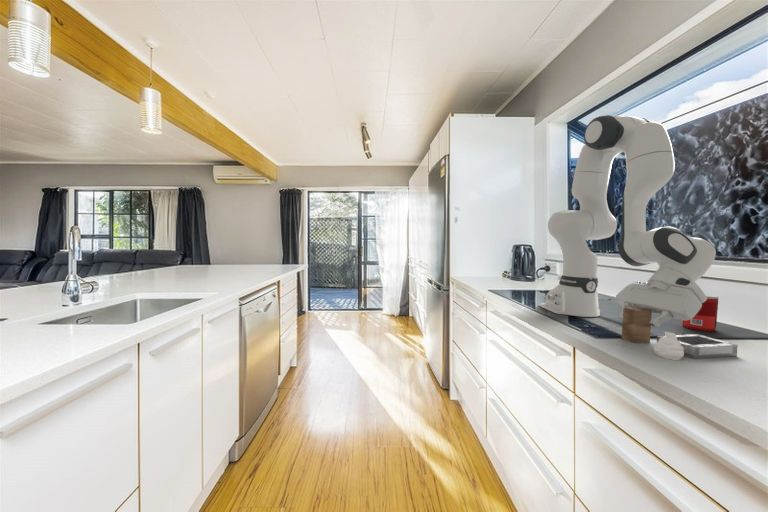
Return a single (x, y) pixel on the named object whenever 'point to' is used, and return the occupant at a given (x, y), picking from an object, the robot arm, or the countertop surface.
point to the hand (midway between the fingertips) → (636, 320)
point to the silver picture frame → (705, 346)
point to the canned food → (704, 315)
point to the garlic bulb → (669, 347)
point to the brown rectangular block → (636, 324)
